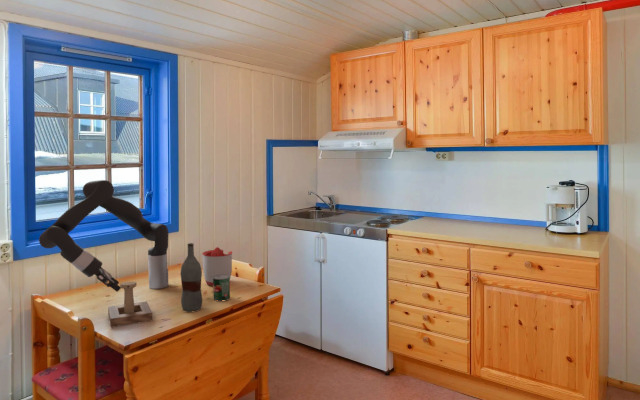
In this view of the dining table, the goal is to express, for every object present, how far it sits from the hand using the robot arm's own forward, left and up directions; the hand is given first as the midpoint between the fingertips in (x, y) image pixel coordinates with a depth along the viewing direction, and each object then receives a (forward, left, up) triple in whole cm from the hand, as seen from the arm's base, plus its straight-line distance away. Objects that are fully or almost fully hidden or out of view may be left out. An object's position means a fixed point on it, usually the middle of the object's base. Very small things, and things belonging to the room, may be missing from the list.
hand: (118, 287), depth 194 cm
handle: (-4, 0, -14) cm, 15 cm away
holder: (-4, 0, -14) cm, 15 cm away
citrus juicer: (-52, -33, -14) cm, 63 cm away
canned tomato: (-46, -7, -14) cm, 49 cm away
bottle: (-30, +1, -14) cm, 33 cm away
